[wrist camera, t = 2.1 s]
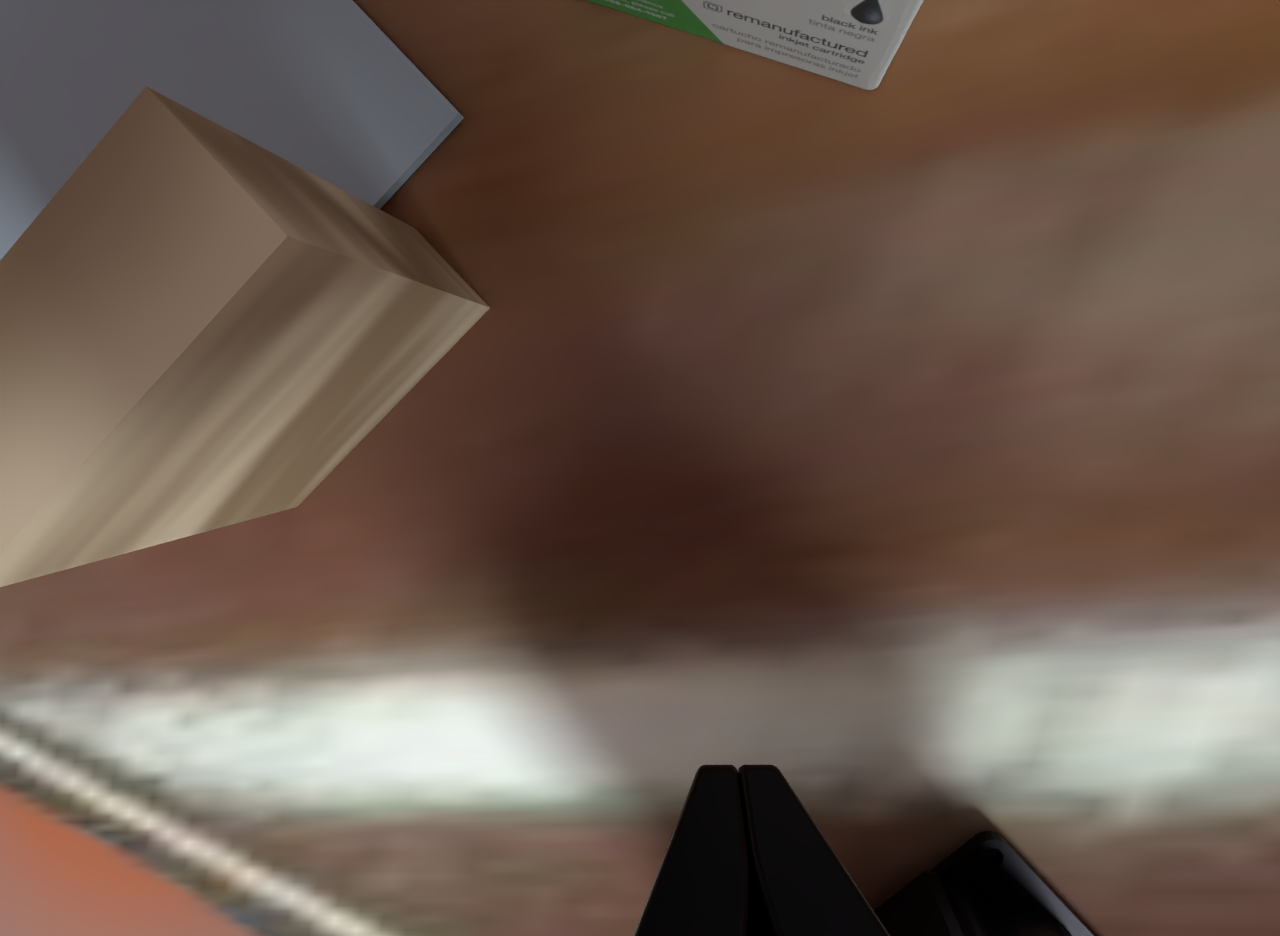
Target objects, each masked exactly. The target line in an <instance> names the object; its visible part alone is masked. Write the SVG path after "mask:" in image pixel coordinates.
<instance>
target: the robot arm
mask: <svg viewBox="0 0 1280 936" xmlns="http://www.w3.org/2000/svg"><path fill="white" fill-rule="evenodd" d="M991 848H995V849H998V853H997V854H996V855H995V856H994V857H991V858H986V857H984V853H985V852H986V851H987V850H989V849H991ZM634 936H1096V935H1095V934H1094V933H1093V932H1092V931H1091V929H1090V928H1089V927H1088V926H1087V925H1086V924H1085V923H1084V922H1083V921H1082V920H1081V919H1080V918H1079V917H1078V916H1077V915H1076V914H1075V913H1074V912H1073V910H1072V909H1071V908H1070V907H1069V906H1068V905H1067V904H1066V903H1065V902H1064V901H1063V900H1062V899H1061V898H1060V897H1059V896H1058V895H1057V894H1056V893H1055V892H1054V890H1053V889H1052V888H1051V887H1050V886H1049V885H1048V884H1047V883H1046V882H1045V881H1044V880H1043V879H1042V878H1041V877H1040V876H1039V875H1038V874H1037V873H1036V871H1035V870H1034V869H1033V868H1032V867H1031V866H1030V865H1029V864H1028V863H1027V862H1026V861H1025V860H1024V859H1023V858H1022V857H1021V856H1020V855H1019V854H1018V852H1017V851H1016V850H1015V849H1014V848H1013V847H1012V846H1011V845H1010V844H1009V843H1008V842H1007V841H1006V840H1005V839H1004V838H1003V837H1002V836H1001V835H999V834H998V833H995V832H992V831H985V832H981V833H979V834H977V835H975V836H974V837H973V838H971V839H970V840H969V841H968V842H966V843H965V844H964V845H962V846H961V847H960V848H959V849H957V850H956V851H955V852H954V853H952V854H951V855H950V856H948V857H947V858H946V859H945V860H943V861H942V862H941V863H940V864H938V865H937V866H936V867H935V868H933V869H932V870H931V871H929V872H923V873H921V874H920V875H919V876H918V877H916V878H915V879H914V880H913V881H911V882H910V883H909V884H907V885H906V886H905V887H904V888H902V889H901V890H900V891H899V892H897V893H896V894H895V895H894V896H892V897H891V898H890V899H888V900H887V901H886V902H885V903H883V904H882V905H881V906H880V907H878V908H877V909H876V910H875V911H873V910H872V908H871V907H870V905H869V904H868V902H867V901H866V899H865V898H864V896H863V895H862V893H861V892H860V890H859V889H858V887H857V886H856V884H855V883H854V881H853V880H852V878H851V877H850V875H849V874H848V872H847V871H846V869H845V868H844V866H843V865H842V863H841V862H840V860H839V859H838V857H837V856H836V854H835V853H834V851H833V850H832V848H831V847H830V845H829V844H828V842H827V841H826V839H825V838H824V836H823V835H822V833H821V832H820V830H819V829H818V827H817V826H816V824H815V823H814V821H813V820H812V818H811V817H810V815H809V813H808V812H807V810H806V809H805V807H804V806H803V804H802V803H801V801H800V800H799V798H798V797H797V795H796V794H795V792H794V791H793V789H792V788H791V786H790V785H789V783H788V782H787V780H786V779H785V777H784V776H783V774H782V773H781V772H780V770H779V769H778V768H777V767H775V766H773V765H743V766H741V767H740V768H739V770H738V771H737V769H736V767H734V766H733V765H703V766H701V767H700V768H699V769H698V771H697V773H696V775H695V778H694V780H693V783H692V785H691V788H690V791H689V793H688V796H687V798H686V801H685V804H684V806H683V809H682V811H681V814H680V817H679V819H678V822H677V824H676V827H675V830H674V832H673V835H672V837H671V840H670V843H669V845H668V848H667V850H666V853H665V856H664V858H663V861H662V863H661V866H660V869H659V871H658V874H657V876H656V879H655V882H654V884H653V887H652V889H651V892H650V894H649V897H648V900H647V902H646V905H645V907H644V910H643V913H642V915H641V918H640V920H639V923H638V926H637V928H636V931H635V933H634Z"/></svg>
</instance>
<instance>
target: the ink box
mask: <svg viewBox="0 0 1280 936" xmlns="http://www.w3.org/2000/svg"><path fill="white" fill-rule="evenodd" d="M588 1H591V2H593V3H597V4H600V5H602V6H607V7H610V8H613V9H615V10H619V11H623V12H625V13H628V14H630V15H634V16H637V17H641V18H644V19H647V20H649V21H653V22H657V23H660V24H663V25H666V26H669V27H672V28H675V29H679V30H683V31H686V32H688V33H691V34H694V35H697V36H700V37H703V38H707V39H710V40H713V41H716V42H718V43H721V44H726V45H729V46H731V47H734V48H737V49H741V50H744V51H747V52H750V53H753V54H757V55H760V56H763V57H766V58H769V59H772V60H775V61H779V62H782V63H785V64H788V65H791V66H794V67H797V68H800V69H804V70H807V71H810V72H813V73H816V74H819V75H822V76H825V77H829V78H832V79H835V80H838V81H841V82H844V83H847V84H850V85H853V86H856V87H860V88H863V89H866V90H873V89H875V88H877V87H878V86H879V84H880V82H881V80H882V78H883V76H884V74H885V72H886V70H887V68H888V67H889V65H890V63H891V61H892V59H893V57H894V55H895V53H896V52H897V50H898V48H899V46H900V44H901V42H902V40H903V38H904V36H905V34H906V32H907V30H908V28H909V27H910V25H911V23H912V21H913V19H914V17H915V15H916V14H917V12H918V10H919V8H920V6H921V4H922V2H923V0H588Z"/></svg>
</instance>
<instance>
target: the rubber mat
mask: <svg viewBox="0 0 1280 936" xmlns="http://www.w3.org/2000/svg"><path fill="white" fill-rule="evenodd" d="M146 86H147V87H149V88H150V89H152V90H154V91H156V92H158V93H160V94H162V95H164V96H166V97H167V98H169V99H171V100H173V101H175V102H177V103H179V104H181V105H183V106H185V107H186V108H188V109H190V110H192V111H194V112H196V113H198V114H200V115H202V116H203V117H205V118H207V119H209V120H211V121H213V122H215V123H217V124H219V125H221V126H222V127H224V128H226V129H228V130H230V131H232V132H234V133H236V134H238V135H240V136H241V137H243V138H245V139H247V140H249V141H251V142H253V143H255V144H257V145H258V146H260V147H262V148H264V149H266V150H268V151H270V152H272V153H274V154H276V155H277V156H279V157H281V158H283V159H285V160H287V161H289V162H291V163H293V164H294V165H296V166H298V167H300V168H302V169H304V170H306V171H308V172H310V173H312V174H313V175H315V176H317V177H319V178H321V179H323V180H325V181H327V182H329V183H331V184H332V185H334V186H336V187H338V188H340V189H342V190H344V191H346V192H348V193H349V194H351V195H353V196H355V197H357V198H359V199H361V200H363V201H365V202H367V203H368V204H370V205H372V206H374V207H376V208H378V209H381V208H382V207H383V206H384V204H385V203H386V202H387V201H388V200H389V199H390V198H391V197H392V196H393V195H394V194H395V192H396V191H397V190H398V189H399V188H400V187H401V186H402V185H403V184H404V183H405V182H406V181H407V179H408V178H409V177H410V176H411V175H412V174H413V173H414V172H415V171H416V170H417V169H418V168H419V166H420V165H421V164H422V163H423V162H424V161H425V160H426V159H427V158H428V157H429V156H430V154H431V153H432V152H433V151H434V150H435V149H436V148H437V147H438V146H439V145H440V144H441V143H442V141H443V140H444V139H445V138H446V137H447V136H448V135H449V134H450V133H451V132H452V131H453V129H454V128H455V127H456V126H457V125H458V124H459V123H460V122H461V121H462V120H463V119H464V117H463V116H462V115H461V114H460V113H459V112H458V111H457V110H456V109H455V108H454V107H453V106H452V104H451V103H450V102H449V101H448V100H447V99H446V98H445V97H444V96H443V95H442V94H441V93H440V92H439V91H438V90H437V89H436V88H435V87H434V86H433V84H432V83H431V82H430V81H429V80H428V79H427V78H426V77H425V76H424V75H423V74H422V73H421V72H420V71H419V70H418V69H417V68H416V67H415V65H414V64H413V63H412V62H411V61H410V60H409V59H408V58H407V57H406V56H405V55H404V54H403V53H402V52H401V51H400V50H399V49H398V48H397V47H396V45H395V44H394V43H393V42H392V41H391V40H390V39H389V38H388V37H387V36H386V35H385V34H384V33H383V32H382V31H381V30H380V29H379V28H378V26H377V25H376V24H375V23H374V22H373V21H372V20H371V19H370V18H369V17H368V16H367V15H366V14H365V13H364V12H363V11H362V10H361V9H360V8H359V6H358V5H357V4H356V3H355V2H354V1H353V0H0V260H1V259H2V258H3V257H4V255H5V254H6V253H7V252H8V251H9V249H10V248H11V247H12V246H13V245H14V243H15V242H16V241H17V240H18V239H19V237H20V236H21V235H22V234H23V233H24V232H25V230H26V229H27V228H28V227H29V226H30V224H31V223H32V222H33V221H34V220H35V218H36V217H37V216H38V215H39V214H40V212H41V211H42V210H43V209H44V208H45V206H46V205H47V204H48V203H49V202H50V200H51V199H52V198H53V197H54V196H55V194H56V193H57V192H58V191H59V190H60V188H61V187H62V186H63V185H64V184H65V182H66V181H67V180H68V179H69V178H70V176H71V175H72V174H73V173H74V172H75V171H76V169H77V168H78V167H79V166H80V165H81V163H82V162H83V161H84V160H85V159H86V157H87V156H88V155H89V154H90V153H91V151H92V150H93V149H94V148H95V147H96V145H97V144H98V143H99V142H100V141H101V139H102V138H103V137H104V136H105V135H106V133H107V132H108V131H109V130H110V129H111V127H112V126H113V125H114V124H115V123H116V121H117V120H118V119H119V118H120V117H121V116H122V114H123V113H124V112H125V111H126V110H127V108H128V107H129V106H130V105H131V104H132V102H133V101H134V100H135V99H136V98H137V96H138V95H139V94H140V93H141V92H142V90H143V89H144V88H145V87H146Z"/></svg>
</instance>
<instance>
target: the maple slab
mask: <svg viewBox="0 0 1280 936" xmlns="http://www.w3.org/2000/svg"><path fill="white" fill-rule="evenodd" d="M489 309H490V307H489V306H488V305H487V304H486V303H485V302H484V301H483V300H482V299H481V298H480V296H479V295H478V294H477V293H476V292H475V291H474V290H473V289H472V288H471V287H470V286H469V285H468V284H467V283H466V282H465V281H464V280H463V279H462V278H461V276H460V275H459V274H458V273H457V272H456V271H455V270H454V269H453V268H452V267H451V266H450V265H449V264H448V263H447V262H446V261H445V260H444V259H443V257H442V256H441V255H440V254H439V253H438V252H437V251H436V250H435V249H434V248H433V247H432V246H431V245H430V244H429V243H428V242H427V241H426V240H425V238H424V237H423V236H422V235H421V234H420V233H419V232H418V231H417V230H416V229H415V228H414V227H412V226H410V225H408V224H406V223H404V222H403V221H401V220H399V219H397V218H395V217H393V216H391V215H389V214H387V213H386V212H384V211H382V210H380V209H378V208H376V207H374V206H372V205H370V204H368V203H367V202H365V201H363V200H361V199H359V198H357V197H355V196H353V195H351V194H349V193H348V192H346V191H344V190H342V189H340V188H338V187H336V186H334V185H332V184H331V183H329V182H327V181H325V180H323V179H321V178H319V177H317V176H315V175H313V174H312V173H310V172H308V171H306V170H304V169H302V168H300V167H298V166H296V165H294V164H293V163H291V162H289V161H287V160H285V159H283V158H281V157H279V156H277V155H276V154H274V153H272V152H270V151H268V150H266V149H264V148H262V147H260V146H258V145H257V144H255V143H253V142H251V141H249V140H247V139H245V138H243V137H241V136H240V135H238V134H236V133H234V132H232V131H230V130H228V129H226V128H224V127H222V126H221V125H219V124H217V123H215V122H213V121H211V120H209V119H207V118H205V117H203V116H202V115H200V114H198V113H196V112H194V111H192V110H190V109H188V108H186V107H185V106H183V105H181V104H179V103H177V102H175V101H173V100H171V99H169V98H167V97H166V96H164V95H162V94H160V93H158V92H156V91H154V90H152V89H150V88H149V87H147V86H146V87H145V88H144V89H143V90H142V92H141V93H140V94H139V95H138V96H137V98H136V99H135V100H134V101H133V102H132V104H131V105H130V106H129V107H128V108H127V110H126V111H125V112H124V113H123V114H122V116H121V117H120V118H119V119H118V120H117V121H116V123H115V124H114V125H113V126H112V127H111V129H110V130H109V131H108V132H107V133H106V135H105V136H104V137H103V138H102V139H101V141H100V142H99V143H98V144H97V145H96V147H95V148H94V149H93V150H92V151H91V153H90V154H89V155H88V156H87V157H86V159H85V160H84V161H83V162H82V163H81V165H80V166H79V167H78V168H77V169H76V171H75V172H74V173H73V174H72V175H71V176H70V178H69V179H68V180H67V181H66V182H65V184H64V185H63V186H62V187H61V188H60V190H59V191H58V192H57V193H56V194H55V196H54V197H53V198H52V199H51V200H50V202H49V203H48V204H47V205H46V206H45V208H44V209H43V210H42V211H41V212H40V214H39V215H38V216H37V217H36V218H35V220H34V221H33V222H32V223H31V224H30V226H29V227H28V228H27V229H26V230H25V232H24V233H23V234H22V235H21V236H20V237H19V239H18V240H17V241H16V242H15V243H14V245H13V246H12V247H11V248H10V249H9V251H8V252H7V253H6V254H5V255H4V257H3V258H2V259H1V260H0V587H3V586H6V585H10V584H14V583H17V582H21V581H25V580H28V579H32V578H36V577H40V576H43V575H47V574H51V573H54V572H58V571H62V570H65V569H69V568H73V567H76V566H80V565H84V564H88V563H91V562H95V561H99V560H102V559H106V558H110V557H113V556H117V555H121V554H125V553H128V552H132V551H136V550H139V549H143V548H147V547H150V546H154V545H158V544H161V543H165V542H169V541H173V540H176V539H180V538H184V537H187V536H191V535H195V534H198V533H202V532H206V531H210V530H213V529H217V528H221V527H224V526H228V525H232V524H235V523H239V522H243V521H247V520H250V519H254V518H258V517H261V516H265V515H269V514H272V513H276V512H280V511H283V510H287V509H291V508H295V507H297V506H298V505H299V504H300V503H301V502H302V501H303V500H304V499H305V498H306V497H307V496H308V495H309V494H310V493H311V492H312V491H313V490H314V489H315V488H316V487H317V486H318V485H319V484H320V483H321V482H322V481H323V479H324V478H325V477H326V476H327V475H328V474H329V473H330V472H331V471H332V470H333V469H334V468H335V467H336V466H337V465H338V464H339V463H340V462H341V461H342V460H343V459H344V458H345V457H346V456H347V455H348V454H349V453H350V452H351V451H352V450H353V449H354V448H355V447H356V446H357V445H358V443H359V442H360V441H361V440H362V439H363V438H364V437H365V436H366V435H367V434H368V433H369V432H370V431H371V430H372V429H373V428H374V427H375V426H376V425H377V424H378V423H379V422H380V421H381V420H382V419H383V418H384V417H385V416H386V415H387V414H388V413H389V412H390V411H391V410H392V409H393V407H394V406H395V405H396V404H397V403H398V402H399V401H400V400H401V399H402V398H403V397H404V396H405V395H406V394H407V393H408V392H409V391H410V390H411V389H412V388H413V387H414V386H415V385H416V384H417V383H418V382H419V381H420V380H421V379H422V378H423V377H424V376H425V375H426V374H427V373H428V371H429V370H430V369H431V368H432V367H433V366H434V365H435V364H436V363H437V362H438V361H439V360H440V359H441V358H442V357H443V356H444V355H445V354H446V353H447V352H448V351H449V350H450V349H451V348H452V347H453V346H454V345H455V344H456V343H457V342H458V341H459V340H460V339H461V338H462V337H463V335H464V334H465V333H466V332H467V331H468V330H469V329H470V328H471V327H472V326H473V325H474V324H475V323H476V322H477V321H478V320H479V319H480V318H481V317H482V316H483V315H484V314H485V313H486V312H487V311H488V310H489Z"/></svg>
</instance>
